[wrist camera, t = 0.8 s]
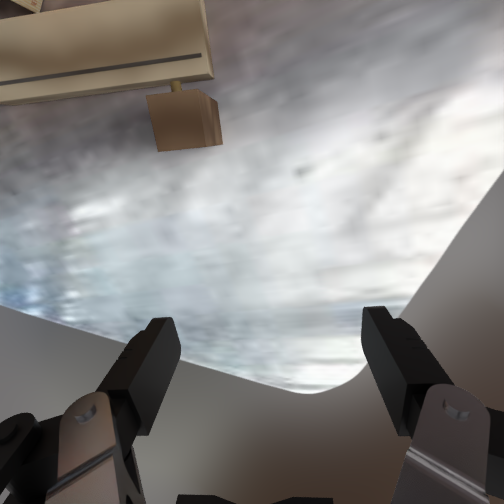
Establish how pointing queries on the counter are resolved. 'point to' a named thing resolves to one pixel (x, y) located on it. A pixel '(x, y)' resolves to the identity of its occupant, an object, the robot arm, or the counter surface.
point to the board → (103, 49)
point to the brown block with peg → (184, 119)
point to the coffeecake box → (30, 4)
